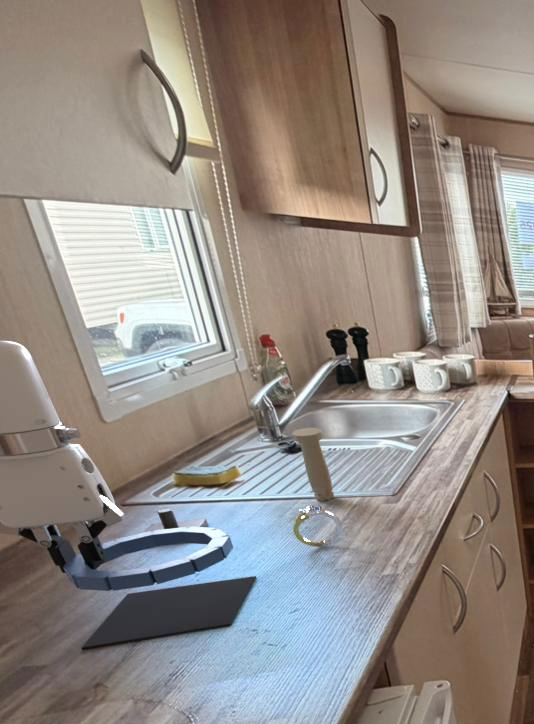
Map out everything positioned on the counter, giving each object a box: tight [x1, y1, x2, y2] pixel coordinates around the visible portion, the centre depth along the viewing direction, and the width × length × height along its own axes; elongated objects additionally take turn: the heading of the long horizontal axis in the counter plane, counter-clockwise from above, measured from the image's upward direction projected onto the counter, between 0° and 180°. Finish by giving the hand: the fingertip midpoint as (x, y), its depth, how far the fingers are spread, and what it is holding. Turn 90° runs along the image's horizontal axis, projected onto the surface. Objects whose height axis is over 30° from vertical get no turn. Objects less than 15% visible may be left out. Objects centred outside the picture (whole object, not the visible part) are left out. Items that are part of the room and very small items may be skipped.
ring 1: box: [63, 526, 234, 592], centre depth 93 cm, size 17×17×2 cm
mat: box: [81, 575, 257, 651], centre depth 97 cm, size 16×16×1 cm
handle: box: [291, 427, 335, 502], centre depth 135 cm, size 5×6×15 cm
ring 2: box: [292, 504, 343, 548], centre depth 116 cm, size 7×3×8 cm, turn 119°
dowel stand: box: [144, 507, 209, 532], centre depth 118 cm, size 8×8×5 cm
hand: (84, 566), depth 90 cm, fingers closed on ring 1, 2 cm apart
